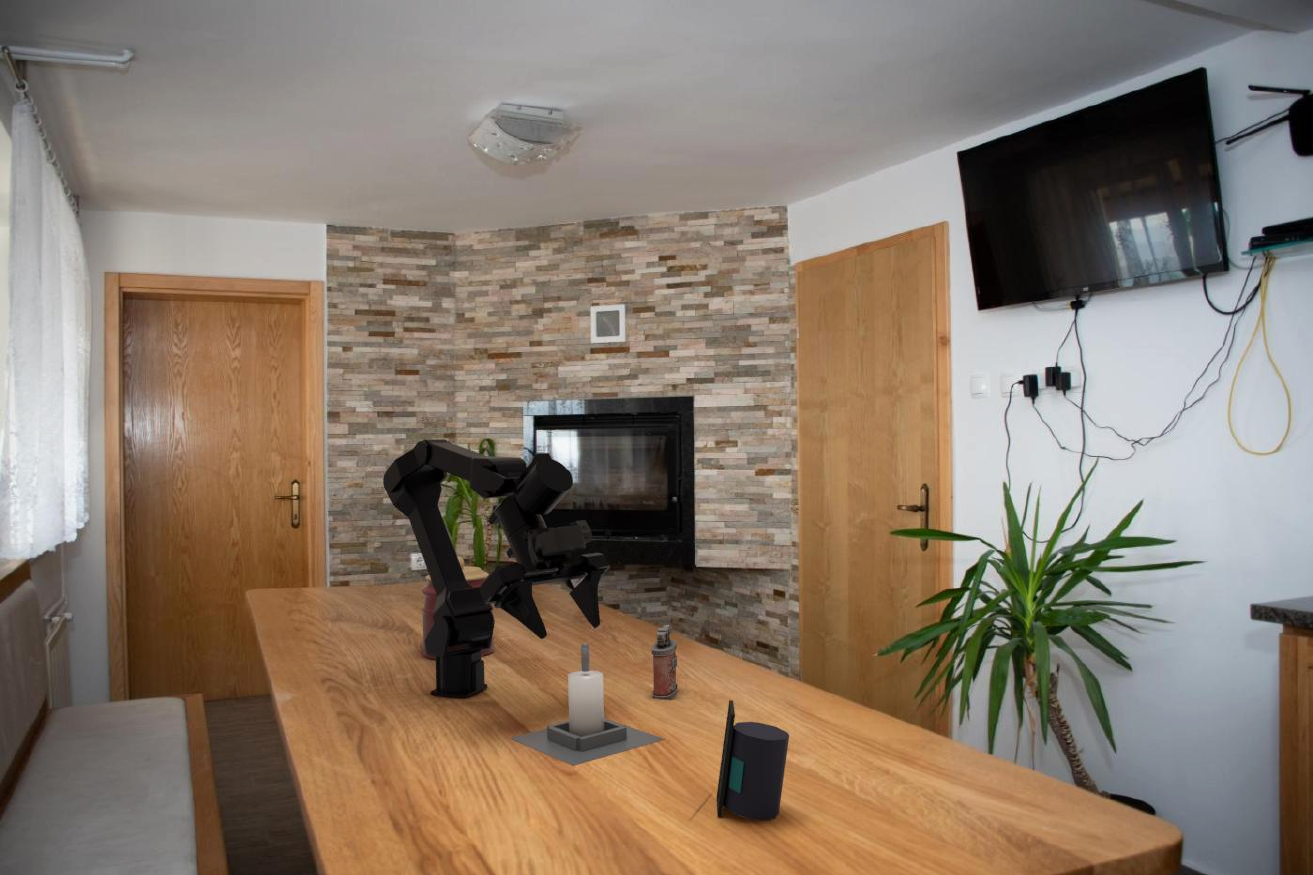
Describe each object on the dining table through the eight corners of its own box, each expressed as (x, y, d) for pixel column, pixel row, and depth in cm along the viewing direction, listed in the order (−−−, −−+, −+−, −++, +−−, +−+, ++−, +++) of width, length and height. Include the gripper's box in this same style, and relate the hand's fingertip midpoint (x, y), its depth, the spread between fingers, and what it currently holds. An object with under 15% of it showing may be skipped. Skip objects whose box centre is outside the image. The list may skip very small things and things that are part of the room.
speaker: (697, 814, 93) (707, 710, 93) (716, 797, 98) (726, 698, 99) (771, 833, 90) (781, 725, 90) (787, 814, 95) (796, 712, 96)
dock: (509, 741, 118) (509, 726, 118) (598, 719, 127) (598, 704, 127) (573, 769, 108) (572, 752, 108) (665, 743, 117) (665, 727, 117)
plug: (563, 742, 116) (561, 645, 116) (578, 732, 120) (576, 638, 120) (595, 745, 115) (594, 647, 115) (609, 734, 119) (608, 640, 119)
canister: (509, 649, 173) (507, 554, 173) (459, 664, 162) (457, 562, 162) (458, 643, 180) (456, 551, 180) (406, 656, 169) (405, 558, 169)
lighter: (671, 702, 135) (670, 633, 135) (648, 701, 136) (647, 632, 136) (681, 688, 143) (679, 622, 143) (659, 687, 144) (658, 622, 144)
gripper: (499, 504, 120) (546, 611, 113) (607, 497, 133) (655, 591, 126) (460, 551, 126) (503, 655, 119) (567, 540, 139) (611, 632, 133)
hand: (571, 631), depth 124 cm, fingers open, 9 cm apart
